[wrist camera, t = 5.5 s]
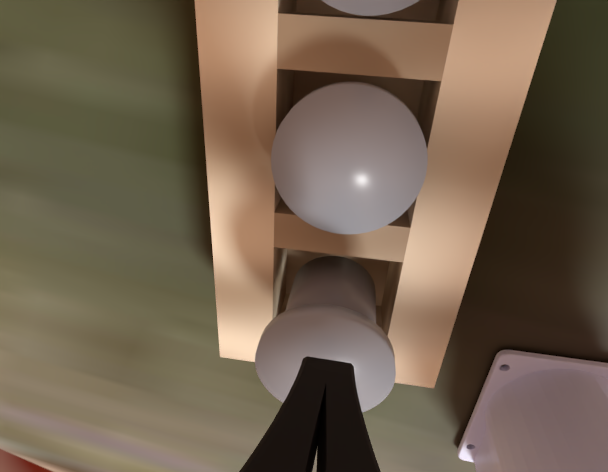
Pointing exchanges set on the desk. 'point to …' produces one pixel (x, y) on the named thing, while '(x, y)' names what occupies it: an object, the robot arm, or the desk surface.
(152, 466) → the desk surface
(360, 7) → the knob
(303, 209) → the knob middle
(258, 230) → the knob mount
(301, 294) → the knob
